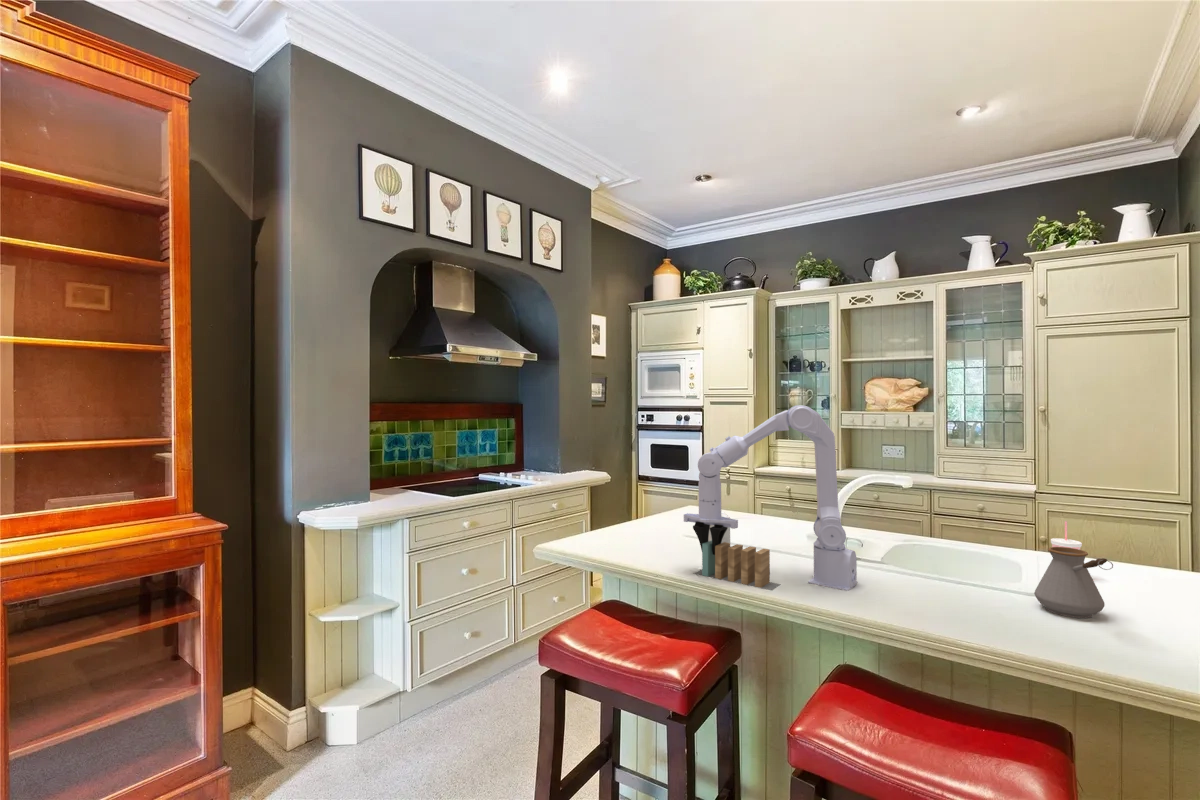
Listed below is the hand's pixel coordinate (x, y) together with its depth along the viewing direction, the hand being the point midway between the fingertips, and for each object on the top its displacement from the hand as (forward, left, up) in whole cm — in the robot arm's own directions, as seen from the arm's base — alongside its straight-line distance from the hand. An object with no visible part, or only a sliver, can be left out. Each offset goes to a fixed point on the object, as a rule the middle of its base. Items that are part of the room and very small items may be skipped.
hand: (710, 553), depth 147 cm
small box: (+10, -24, -6) cm, 27 cm away
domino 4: (-14, 0, -5) cm, 15 cm away
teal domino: (0, 0, -5) cm, 5 cm away
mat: (-7, 0, -6) cm, 9 cm away
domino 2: (-7, 0, -5) cm, 9 cm away
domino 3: (-10, 0, -5) cm, 12 cm away
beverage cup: (-71, -54, -6) cm, 89 cm away
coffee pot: (-73, -19, -6) cm, 76 cm away
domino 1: (-3, 0, -5) cm, 6 cm away
